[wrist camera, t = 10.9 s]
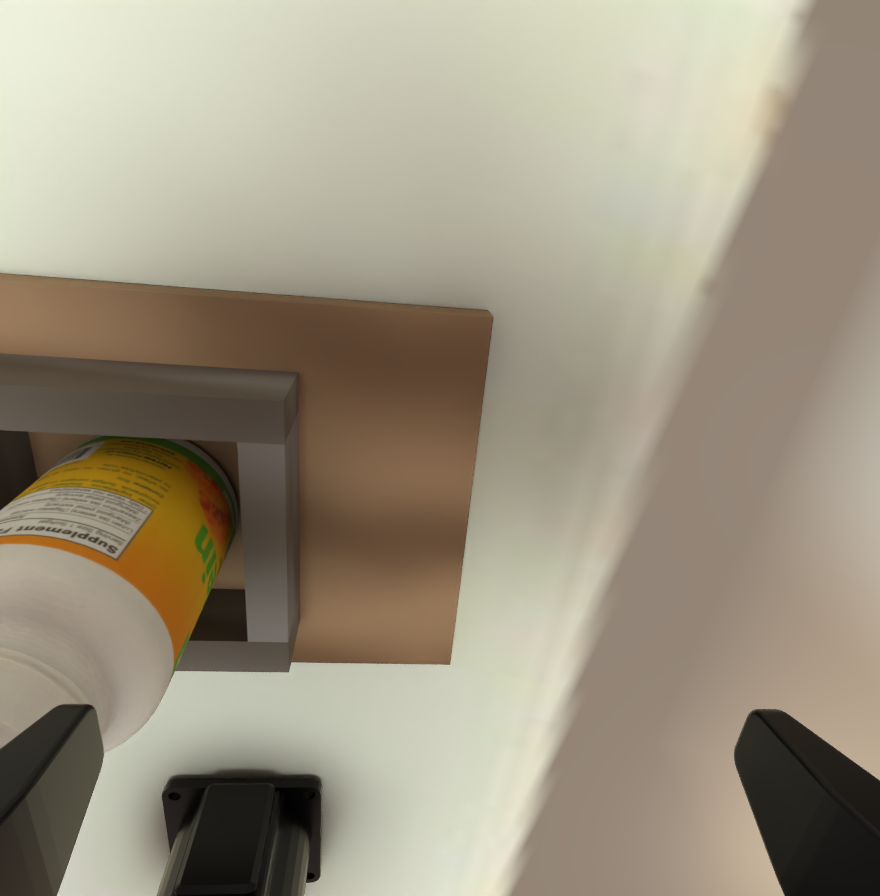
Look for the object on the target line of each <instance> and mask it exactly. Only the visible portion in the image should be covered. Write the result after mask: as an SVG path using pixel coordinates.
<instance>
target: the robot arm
mask: <svg viewBox="0 0 880 896" xmlns="http://www.w3.org/2000/svg"><path fill="white" fill-rule="evenodd" d="M103 757H104V746H103V741H102V736H101V731H100V726H99V721H98V716H97V712H96V709H95V708H94V706H92V705H90V704H61V705H58V706H56V707H54V708H53V709H51V710H50V711H49V712H47V713H46V714H45V715H43V716H42V717H41V718H39V719H38V720H37V721H36V722H34V723H33V724H32V725H30V726H29V727H28V728H26V729H25V730H24V731H23V732H21V733H20V734H19V735H17V736H16V737H15V738H13V739H12V740H11V741H10V742H8V743H7V744H6V745H4V746H3V747H2V748H0V896H57V893H58V890H59V888H60V885H61V882H62V880H63V877H64V874H65V871H66V868H67V865H68V862H69V860H70V857H71V854H72V851H73V848H74V845H75V842H76V839H77V836H78V834H79V831H80V828H81V825H82V822H83V819H84V816H85V813H86V810H87V808H88V805H89V802H90V799H91V796H92V793H93V790H94V787H95V785H96V782H97V779H98V776H99V773H100V770H101V767H102V763H103ZM734 760H735V765H736V768H737V771H738V774H739V777H740V779H741V782H742V785H743V788H744V790H745V793H746V795H747V798H748V801H749V804H750V807H751V809H752V812H753V815H754V818H755V820H756V823H757V826H758V829H759V831H760V834H761V837H762V839H763V842H764V845H765V848H766V850H767V853H768V856H769V859H770V861H771V863H772V866H773V869H774V871H775V874H776V876H777V879H778V881H779V884H780V886H781V888H782V891H783V893H784V895H785V896H880V780H878V779H877V778H875V777H874V776H873V775H871V774H870V773H869V772H867V771H866V770H864V769H863V768H861V767H860V766H859V765H857V764H856V763H855V762H853V761H852V760H850V759H849V758H848V757H846V756H845V755H844V754H842V753H841V752H840V751H838V750H837V749H835V748H834V747H833V746H831V745H830V744H828V743H827V742H826V741H824V740H823V739H821V738H820V737H819V736H817V735H816V734H814V733H813V732H812V731H810V730H809V729H808V728H806V727H805V726H804V725H802V724H801V723H799V722H798V721H797V720H795V719H794V718H793V717H791V716H790V715H788V714H787V713H785V712H783V711H781V710H776V709H755V710H753V711H751V712H750V713H749V714H748V716H747V719H746V721H745V723H744V726H743V728H742V731H741V733H740V736H739V738H738V741H737V743H736V746H735V750H734ZM162 800H163V807H164V813H165V820H166V827H167V833H168V840H169V847H170V856H169V859H168V862H167V865H166V868H165V871H164V874H163V877H162V880H161V883H160V886H159V889H158V892H157V895H156V896H304V893H305V885H306V883H310V882H315V881H317V880H318V879H319V878H320V873H321V841H322V784H321V783H320V782H319V781H318V780H315V779H175V780H171V781H169V782H167V784H166V785H165V788H164V791H163V793H162Z"/></svg>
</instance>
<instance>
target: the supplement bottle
mask: <svg viewBox="0 0 880 896" xmlns="http://www.w3.org/2000/svg"><path fill="white" fill-rule="evenodd" d="M237 524H238V507H237V500H236V496H235V493H234V490H233V488H232V486H231V484H230V482H229V480H228V478H227V476H226V475H225V473H224V472H223V471H222V469H221V468H220V467H219V466H218V464H217V463H216V462H215V461H214V460H213V459H212V458H211V457H210V456H209V455H207V454H206V453H205V452H204V451H202V450H201V449H200V448H198V447H197V446H195V445H193V444H192V443H190V442H188V441H186V440H183V439H163V438H144V437H124V436H105V435H98V436H96V437H93V438H91V439H89V440H88V441H86V442H84V443H83V444H81V445H80V446H78V447H77V448H76V449H74V450H73V451H72V452H70V453H69V454H68V455H66V456H65V457H64V458H63V459H61V460H60V461H59V462H58V463H57V464H55V465H54V466H53V467H52V468H50V469H49V470H48V471H47V472H46V473H45V474H44V475H42V476H41V477H40V478H39V479H38V480H37V481H35V482H34V483H33V484H32V485H31V486H29V487H28V488H27V489H26V490H25V491H23V492H22V493H21V494H20V495H19V496H17V497H16V498H15V499H14V500H13V501H11V502H10V503H9V504H8V505H7V506H5V507H4V508H3V509H2V510H1V511H0V748H2V747H3V746H4V745H6V744H7V743H8V742H10V741H11V740H12V739H13V738H15V737H16V736H17V735H19V734H20V733H21V732H23V731H24V730H25V729H26V728H28V727H29V726H30V725H32V724H33V723H34V722H36V721H37V720H38V719H39V718H41V717H42V716H43V715H45V714H46V713H47V712H49V711H50V710H51V709H53V708H54V707H56V706H58V705H61V704H90V705H92V706H94V708H95V709H96V712H97V716H98V721H99V726H100V731H101V736H102V741H103V746H104V753H105V752H107V751H109V750H111V749H113V748H115V747H117V746H118V745H120V744H122V743H123V742H125V741H126V740H127V739H129V738H130V737H131V736H132V735H133V734H135V733H136V732H137V731H138V730H139V729H140V728H141V727H142V726H143V725H144V724H145V723H146V722H147V721H148V720H149V718H150V717H151V716H152V714H153V713H154V711H155V710H156V708H157V707H158V705H159V703H160V701H161V699H162V697H163V695H164V693H165V691H166V689H167V687H168V685H169V683H170V681H171V678H172V676H173V674H174V672H175V669H176V667H177V665H178V663H179V661H180V658H181V656H182V654H183V651H184V649H185V647H186V645H187V642H188V640H189V638H190V636H191V633H192V631H193V629H194V627H195V624H196V622H197V620H198V618H199V615H200V613H201V611H202V609H203V606H204V604H205V602H206V600H207V597H208V595H209V593H210V591H211V589H212V587H213V584H214V582H215V580H216V578H217V576H218V573H219V571H220V569H221V567H222V564H223V562H224V560H225V558H226V556H227V554H228V551H229V549H230V547H231V544H232V542H233V539H234V536H235V533H236V529H237Z"/></svg>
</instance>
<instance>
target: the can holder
mask: <svg viewBox="0 0 880 896" xmlns="http://www.w3.org/2000/svg"><path fill="white" fill-rule="evenodd" d="M492 323H493V316H492V315H491V314H490V312H489V311H487V310H474V309H461V308H448V307H435V306H422V305H409V304H396V303H382V302H369V301H356V300H343V299H330V298H317V297H304V296H291V295H277V294H264V293H251V292H238V291H225V290H212V289H199V288H186V287H173V286H159V285H146V284H133V283H120V282H107V281H94V280H81V279H68V278H54V277H41V276H28V275H15V274H2V273H0V511H1V510H2V509H3V508H4V507H5V506H7V505H8V504H9V503H10V502H11V501H13V500H14V499H15V498H16V497H17V496H19V495H20V494H21V493H22V492H23V491H25V490H26V489H27V488H28V487H29V486H31V485H32V484H33V483H34V482H35V481H37V480H38V479H39V478H40V477H41V476H42V475H44V474H45V473H46V472H47V471H48V470H49V469H50V468H52V467H53V466H54V465H55V464H57V463H58V462H59V461H60V460H61V459H63V458H64V457H65V456H66V455H68V454H69V453H70V452H72V451H73V450H74V449H76V448H77V447H78V446H80V445H81V444H83V443H84V442H86V441H88V440H89V439H91V438H93V437H96V436H98V435H105V436H124V437H144V438H163V439H183V440H186V441H188V442H190V443H192V444H193V445H195V446H197V447H198V448H200V449H201V450H202V451H204V452H205V453H206V454H207V455H209V456H210V457H211V458H212V459H213V460H214V461H215V462H216V463H217V464H218V466H219V467H220V468H221V469H222V471H223V472H224V473H225V475H226V476H227V478H228V480H229V482H230V484H231V486H232V488H233V490H234V493H235V496H236V500H237V507H238V524H237V529H236V533H235V536H234V539H233V542H232V544H231V547H230V549H229V551H228V554H227V556H226V558H225V560H224V562H223V564H222V567H221V569H220V571H219V573H218V576H217V578H216V580H215V582H214V584H213V587H212V589H211V591H210V593H209V595H208V597H207V600H206V602H205V604H204V606H203V609H202V611H201V613H200V615H199V618H198V620H197V622H196V624H195V627H194V629H193V631H192V633H191V636H190V638H189V640H188V642H187V645H186V647H185V649H184V651H183V654H182V656H181V658H180V661H179V663H178V665H177V667H176V669H175V671H229V672H289V669H290V665H291V662H311V663H377V664H443V665H450V661H451V653H452V645H453V637H454V629H455V621H456V613H457V605H458V597H459V589H460V581H461V573H462V565H463V557H464V549H465V540H466V532H467V524H468V516H469V508H470V500H471V492H472V484H473V476H474V468H475V460H476V452H477V444H478V436H479V428H480V420H481V412H482V404H483V396H484V388H485V380H486V371H487V363H488V355H489V347H490V339H491V331H492Z"/></svg>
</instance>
